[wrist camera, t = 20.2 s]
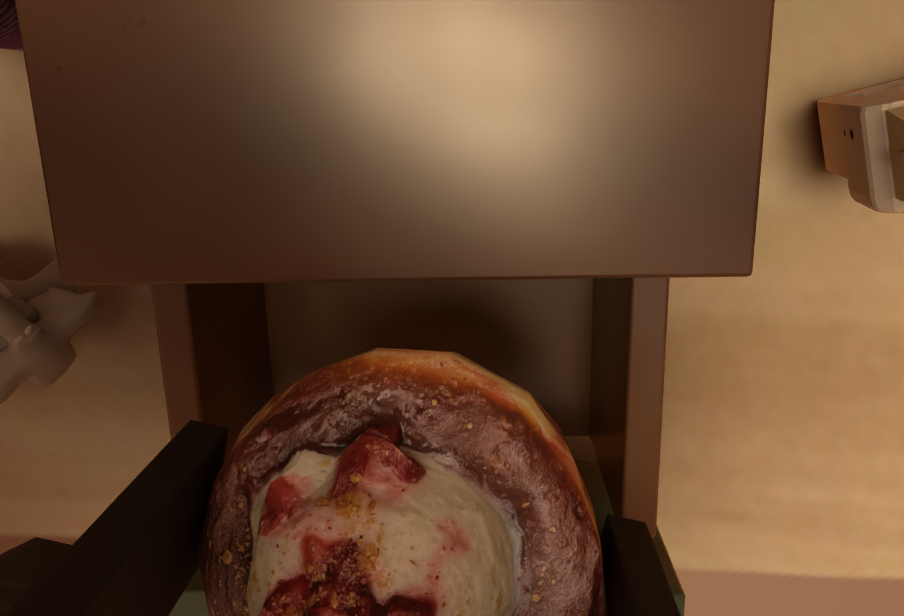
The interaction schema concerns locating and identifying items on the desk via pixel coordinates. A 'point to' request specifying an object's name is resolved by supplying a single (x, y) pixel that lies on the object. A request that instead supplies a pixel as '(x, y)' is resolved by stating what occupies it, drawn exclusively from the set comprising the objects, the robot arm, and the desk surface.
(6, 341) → the elephant figurine
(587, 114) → the cabinet
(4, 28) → the pill bottle
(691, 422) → the desk surface
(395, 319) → the drawer
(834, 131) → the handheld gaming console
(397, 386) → the pastry
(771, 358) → the desk surface
